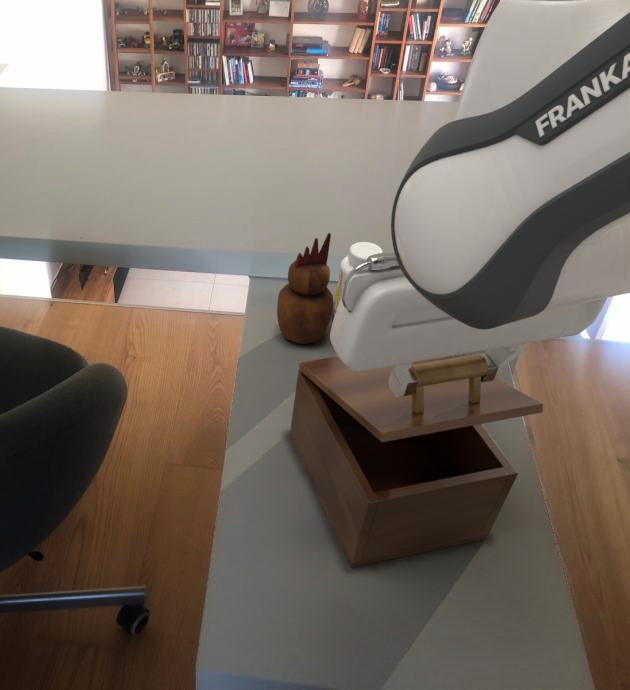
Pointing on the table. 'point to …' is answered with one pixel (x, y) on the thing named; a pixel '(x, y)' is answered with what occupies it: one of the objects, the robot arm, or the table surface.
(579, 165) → the robot arm
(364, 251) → the supplement bottle
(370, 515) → the chest
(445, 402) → the lid
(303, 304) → the wooden figurine
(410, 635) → the table surface
